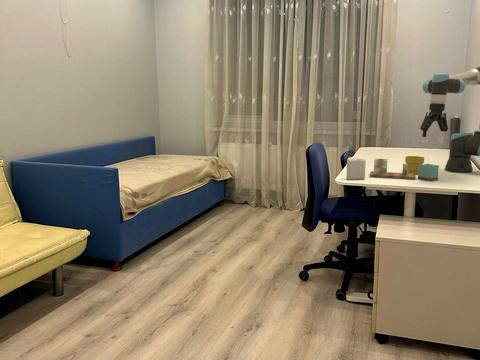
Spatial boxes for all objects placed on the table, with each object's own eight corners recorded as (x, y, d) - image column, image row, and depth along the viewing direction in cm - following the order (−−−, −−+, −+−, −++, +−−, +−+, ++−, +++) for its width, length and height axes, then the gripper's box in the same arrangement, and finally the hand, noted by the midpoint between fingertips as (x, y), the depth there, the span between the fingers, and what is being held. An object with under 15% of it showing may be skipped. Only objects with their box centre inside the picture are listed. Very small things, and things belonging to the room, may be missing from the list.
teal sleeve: (427, 177, 243) (428, 163, 242) (437, 180, 237) (439, 165, 235) (417, 179, 240) (418, 164, 239) (428, 181, 234) (429, 166, 232)
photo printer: (347, 180, 237) (348, 157, 235) (345, 178, 241) (346, 156, 239) (366, 179, 238) (367, 157, 236) (363, 178, 242) (364, 156, 240)
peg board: (414, 176, 249) (415, 159, 247) (415, 179, 237) (416, 162, 236) (370, 173, 256) (371, 157, 254) (369, 177, 245) (370, 160, 243)
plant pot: (424, 172, 260) (425, 156, 258) (421, 175, 251) (422, 158, 249) (406, 171, 265) (407, 155, 263) (402, 173, 256) (403, 157, 255)
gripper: (445, 104, 241) (440, 142, 245) (416, 101, 228) (411, 142, 232) (458, 104, 235) (453, 144, 238) (428, 102, 222) (423, 143, 226)
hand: (432, 143), depth 235 cm, fingers open, 13 cm apart
